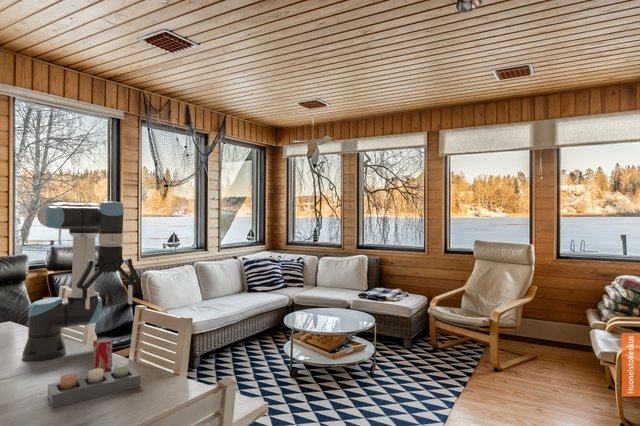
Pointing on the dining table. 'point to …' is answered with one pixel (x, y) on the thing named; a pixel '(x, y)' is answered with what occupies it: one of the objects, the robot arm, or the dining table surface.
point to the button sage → (121, 370)
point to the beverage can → (103, 354)
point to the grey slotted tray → (92, 388)
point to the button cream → (95, 375)
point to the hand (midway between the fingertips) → (109, 306)
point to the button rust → (68, 381)
